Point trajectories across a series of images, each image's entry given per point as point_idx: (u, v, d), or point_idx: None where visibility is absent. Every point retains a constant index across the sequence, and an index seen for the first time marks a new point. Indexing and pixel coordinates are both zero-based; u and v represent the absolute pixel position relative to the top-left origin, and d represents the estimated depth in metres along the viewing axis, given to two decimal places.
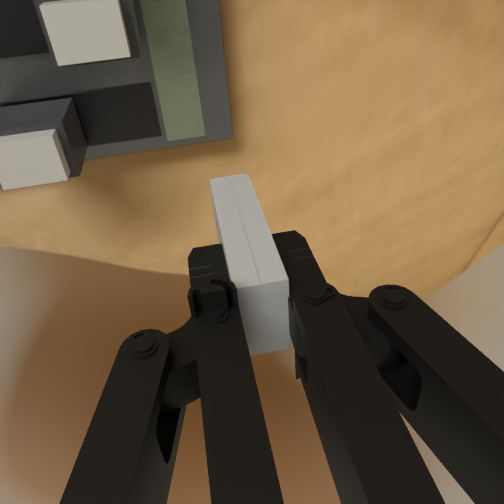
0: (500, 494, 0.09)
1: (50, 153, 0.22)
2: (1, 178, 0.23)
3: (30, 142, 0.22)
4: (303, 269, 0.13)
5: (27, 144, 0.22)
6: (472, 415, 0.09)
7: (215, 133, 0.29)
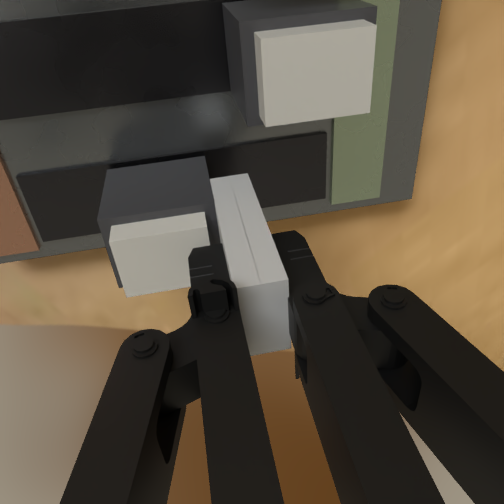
0: (500, 494, 0.09)
1: None
2: (126, 283, 0.16)
3: (175, 235, 0.15)
4: (303, 269, 0.13)
5: (170, 238, 0.15)
6: (472, 415, 0.09)
7: (391, 193, 0.22)
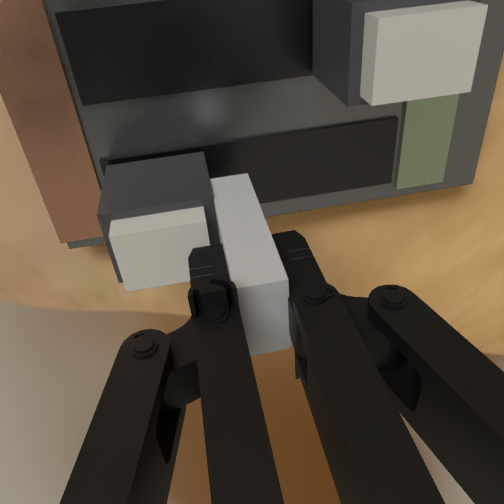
0: (500, 494, 0.09)
1: (199, 243, 0.16)
2: (126, 277, 0.16)
3: (174, 229, 0.15)
4: (302, 269, 0.13)
5: (170, 232, 0.15)
6: (472, 415, 0.09)
7: (453, 178, 0.23)
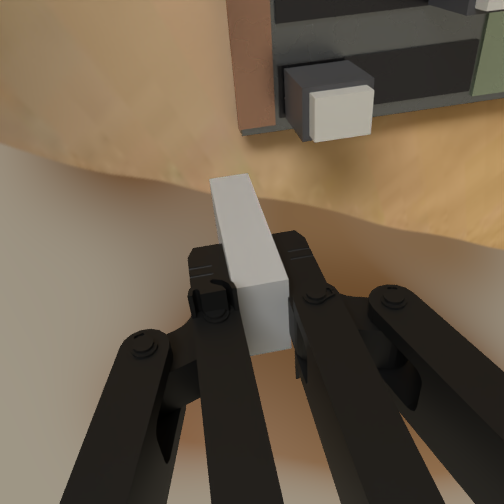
0: (500, 494, 0.09)
1: (366, 107, 0.24)
2: (317, 131, 0.24)
3: (354, 96, 0.24)
4: (303, 269, 0.13)
5: (351, 97, 0.24)
6: (472, 415, 0.09)
7: None
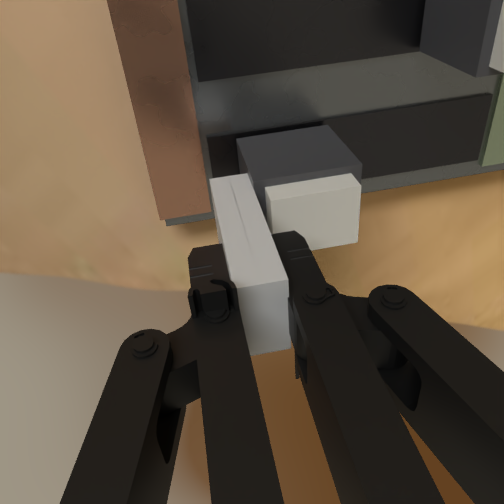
0: (500, 494, 0.09)
1: (350, 208, 0.16)
2: None
3: (330, 194, 0.16)
4: (302, 269, 0.13)
5: (326, 197, 0.16)
6: (472, 415, 0.09)
7: None
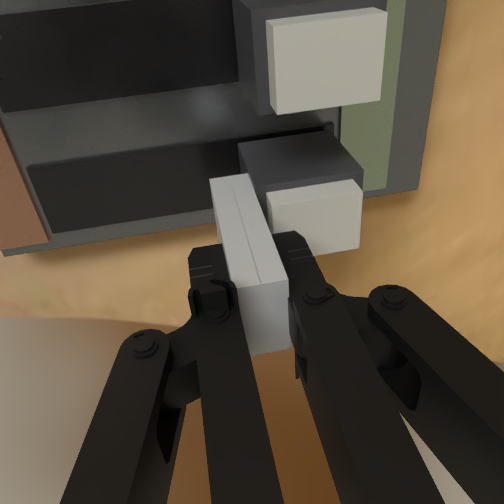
0: (500, 494, 0.09)
1: (351, 214, 0.16)
2: None
3: (332, 200, 0.16)
4: (303, 269, 0.13)
5: (328, 203, 0.16)
6: (472, 415, 0.09)
7: (397, 184, 0.22)
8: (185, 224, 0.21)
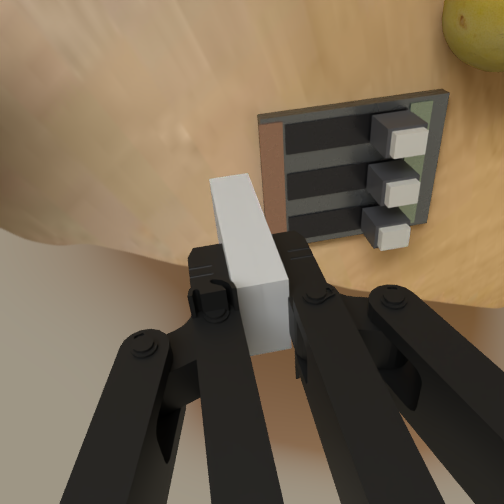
0: (500, 494, 0.09)
1: (406, 235, 0.50)
2: (382, 246, 0.50)
3: (401, 231, 0.49)
4: (303, 269, 0.13)
5: (399, 231, 0.49)
6: (473, 415, 0.09)
7: (418, 221, 0.56)
8: (336, 237, 0.55)
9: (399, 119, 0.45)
